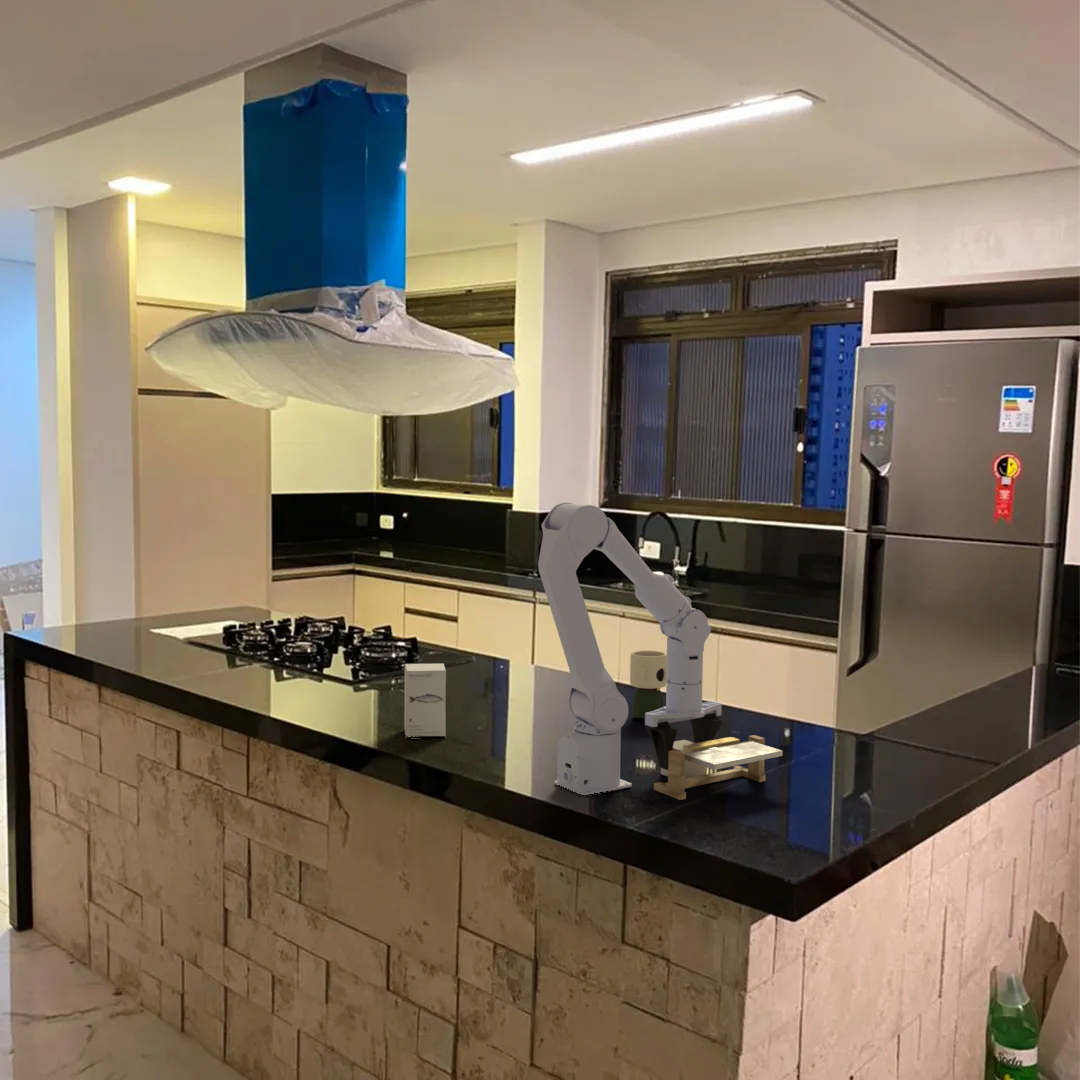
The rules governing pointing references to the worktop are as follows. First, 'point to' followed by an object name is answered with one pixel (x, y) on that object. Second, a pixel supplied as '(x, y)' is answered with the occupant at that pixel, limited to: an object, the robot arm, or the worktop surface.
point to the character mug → (647, 680)
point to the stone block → (687, 762)
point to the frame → (679, 782)
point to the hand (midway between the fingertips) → (683, 764)
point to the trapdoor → (728, 752)
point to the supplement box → (425, 700)
